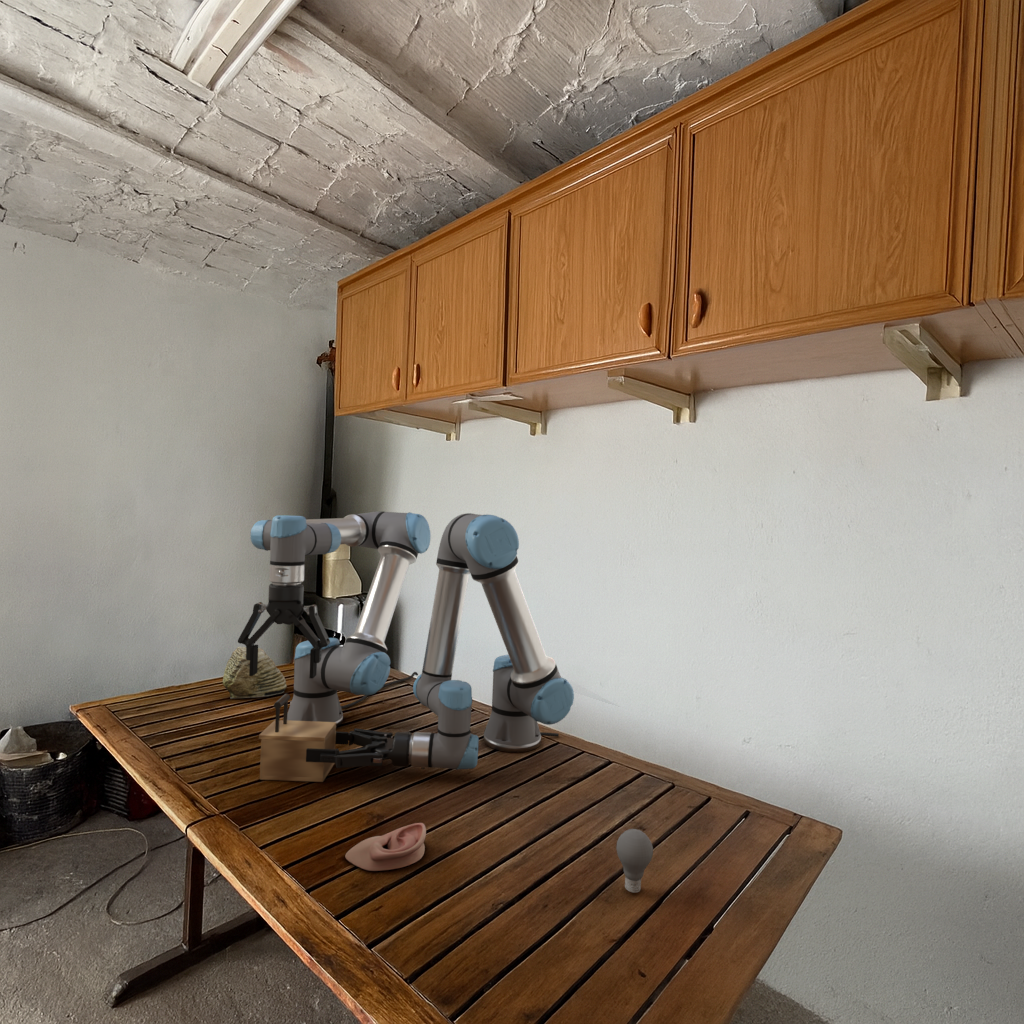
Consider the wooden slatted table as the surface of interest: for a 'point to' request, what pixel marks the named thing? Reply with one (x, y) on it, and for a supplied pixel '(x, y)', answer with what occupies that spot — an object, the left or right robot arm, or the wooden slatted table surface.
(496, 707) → the right robot arm
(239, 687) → the fossil
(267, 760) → the chest
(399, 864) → the anatomical model
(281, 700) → the lid
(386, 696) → the wooden slatted table surface
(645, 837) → the light bulb
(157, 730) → the wooden slatted table surface
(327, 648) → the left robot arm
